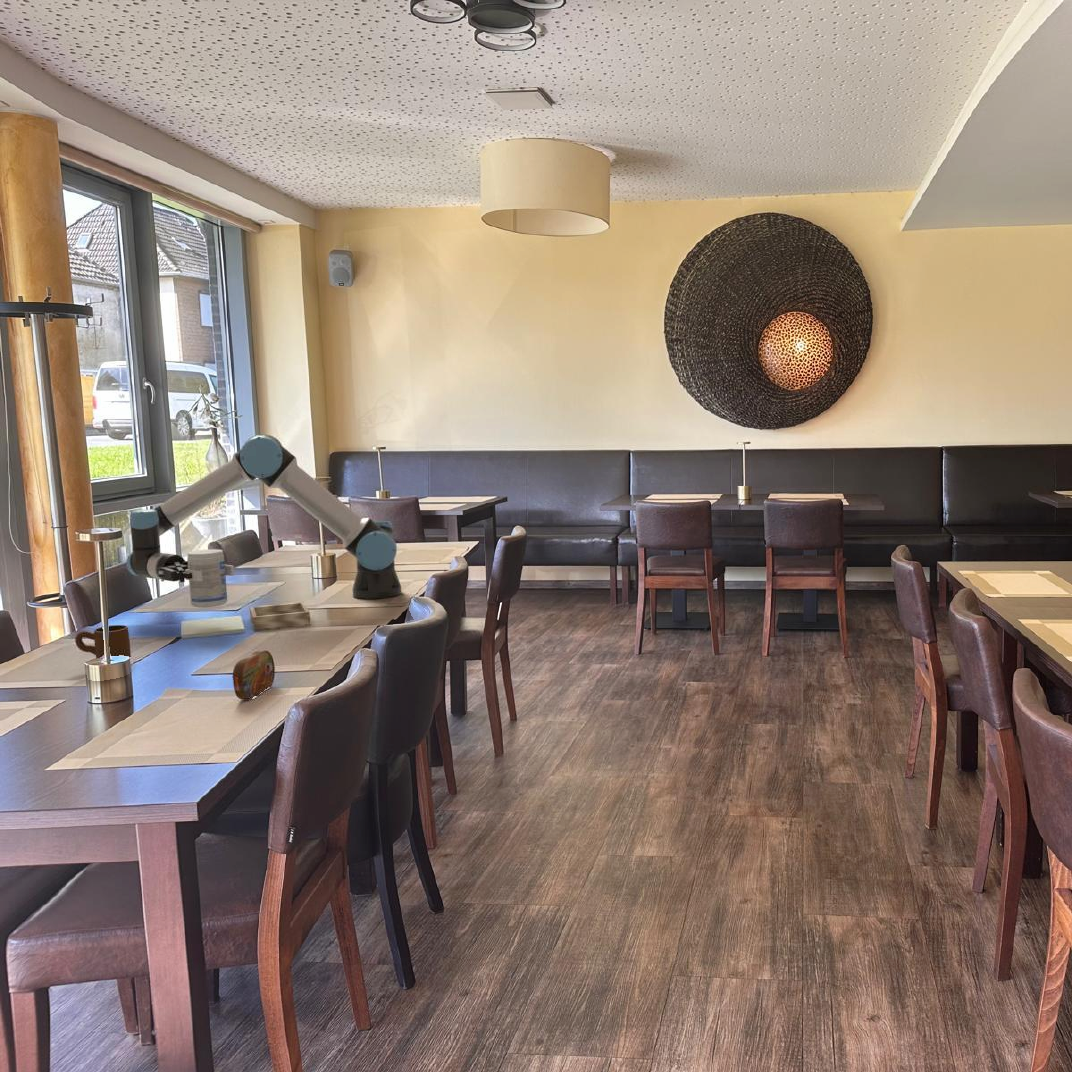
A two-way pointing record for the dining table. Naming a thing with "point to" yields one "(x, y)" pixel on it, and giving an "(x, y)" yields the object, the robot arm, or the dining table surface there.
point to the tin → (253, 674)
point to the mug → (117, 641)
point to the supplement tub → (208, 578)
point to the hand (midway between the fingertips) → (217, 573)
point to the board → (211, 627)
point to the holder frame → (279, 615)
